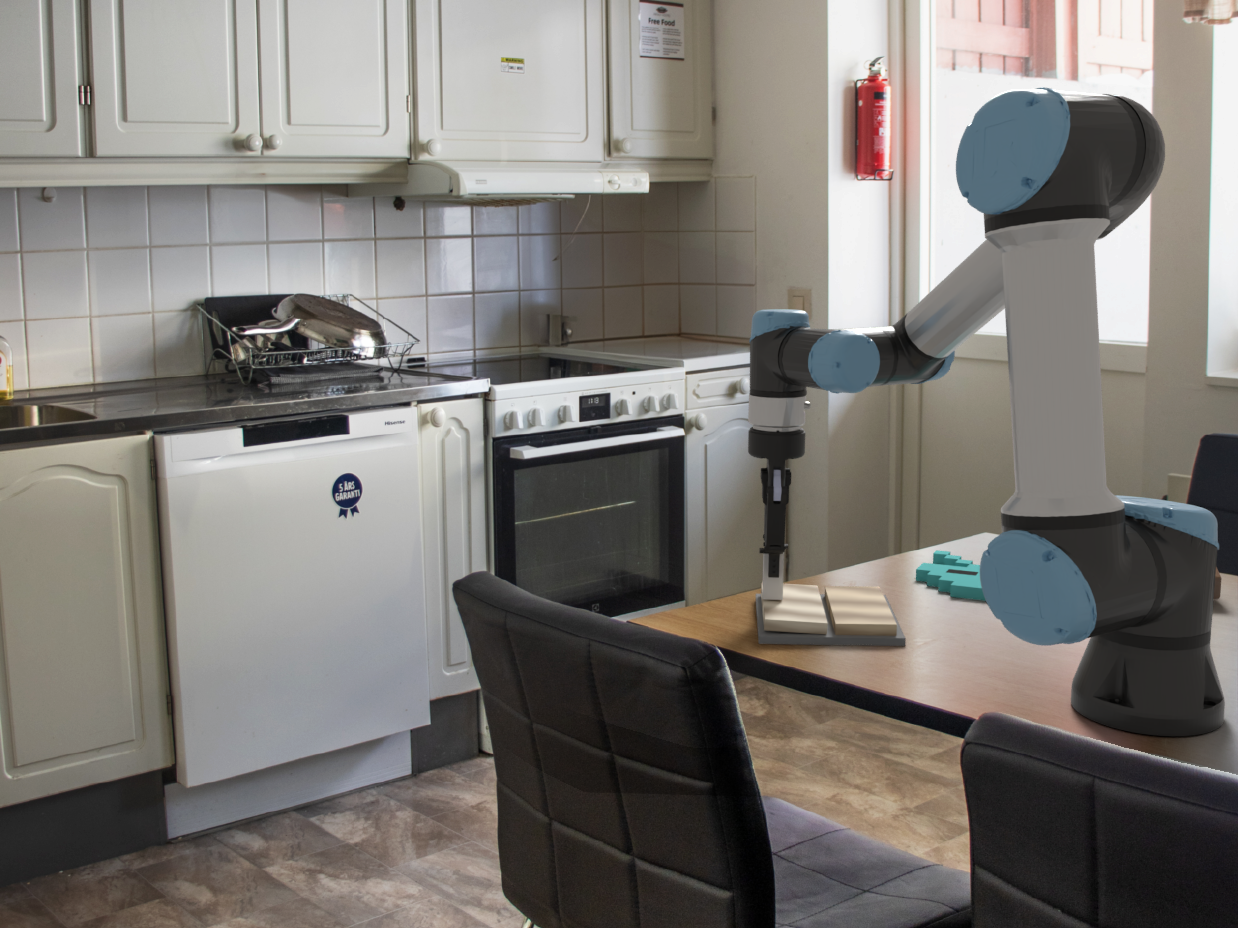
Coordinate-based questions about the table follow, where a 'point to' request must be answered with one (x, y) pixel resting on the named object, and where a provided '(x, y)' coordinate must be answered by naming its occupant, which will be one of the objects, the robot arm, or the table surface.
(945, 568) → the alien figure
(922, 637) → the table surface
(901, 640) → the underlay mat
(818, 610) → the birch plank
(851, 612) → the floor strip
